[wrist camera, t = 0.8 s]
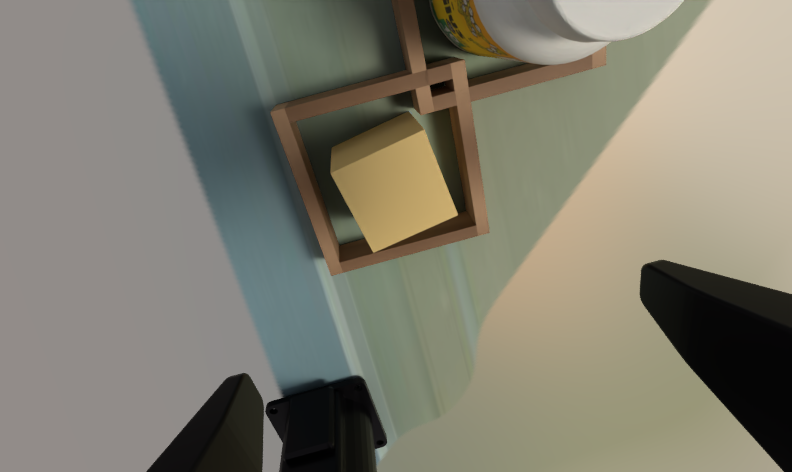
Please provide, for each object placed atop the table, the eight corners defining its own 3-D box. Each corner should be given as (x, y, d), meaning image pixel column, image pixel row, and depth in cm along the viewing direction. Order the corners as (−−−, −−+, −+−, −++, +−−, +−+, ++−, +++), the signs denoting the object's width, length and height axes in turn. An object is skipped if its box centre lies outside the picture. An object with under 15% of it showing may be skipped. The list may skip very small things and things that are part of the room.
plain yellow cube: (437, 183, 21) (458, 215, 18) (367, 215, 21) (373, 253, 18) (408, 110, 19) (424, 129, 16) (331, 146, 20) (330, 173, 16)
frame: (478, 218, 22) (489, 232, 20) (331, 257, 22) (331, 275, 20) (453, 56, 18) (464, 59, 17) (275, 104, 18) (270, 112, 17)
